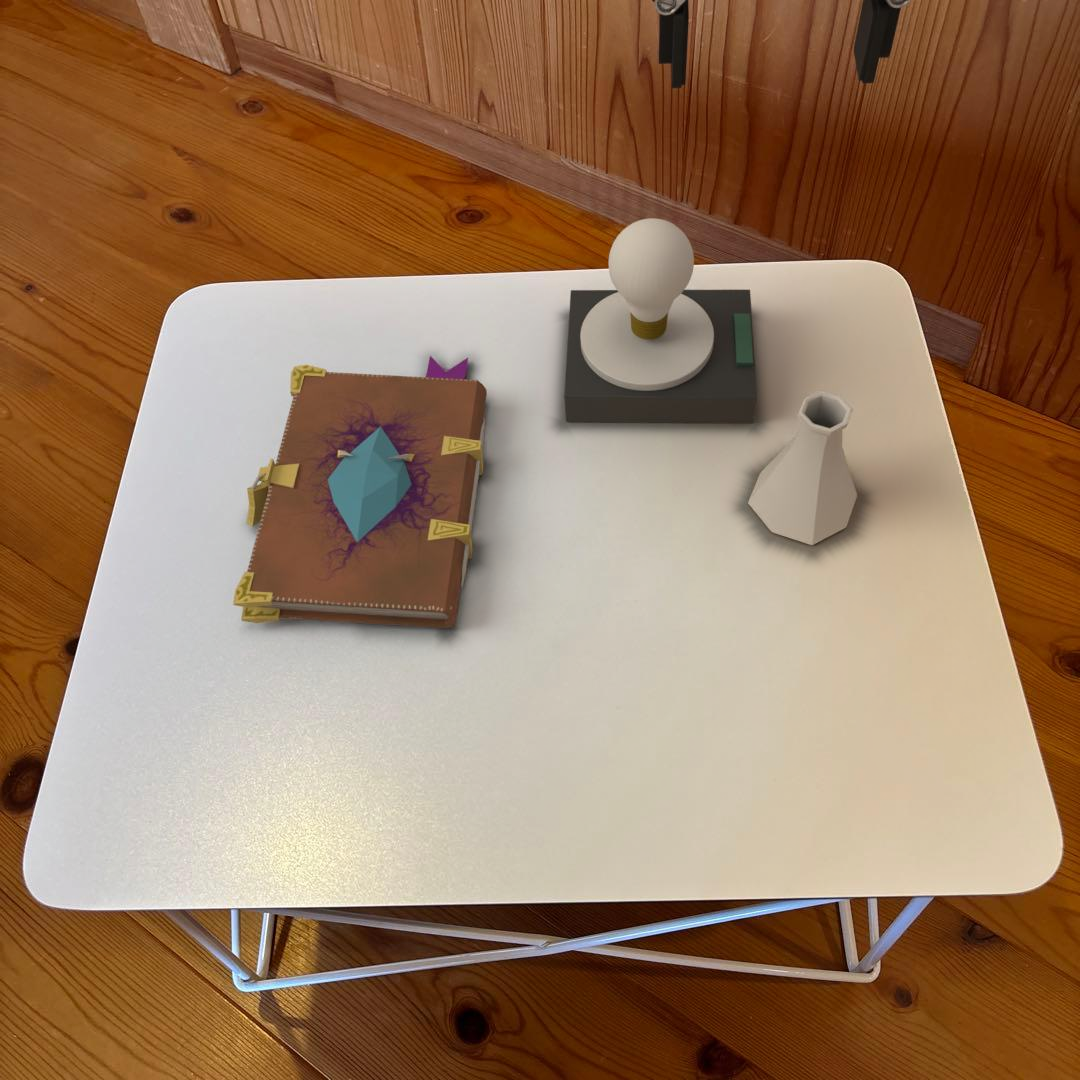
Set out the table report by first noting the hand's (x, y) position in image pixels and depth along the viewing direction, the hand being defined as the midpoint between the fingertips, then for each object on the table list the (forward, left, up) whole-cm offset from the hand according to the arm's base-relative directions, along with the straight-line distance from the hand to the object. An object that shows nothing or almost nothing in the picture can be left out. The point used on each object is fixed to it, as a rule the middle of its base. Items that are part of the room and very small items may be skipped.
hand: (769, 70), depth 55 cm
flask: (-5, +8, -28) cm, 30 cm away
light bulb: (+6, -4, -24) cm, 25 cm away
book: (+26, +7, -28) cm, 39 cm away
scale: (+5, -4, -28) cm, 29 cm away
